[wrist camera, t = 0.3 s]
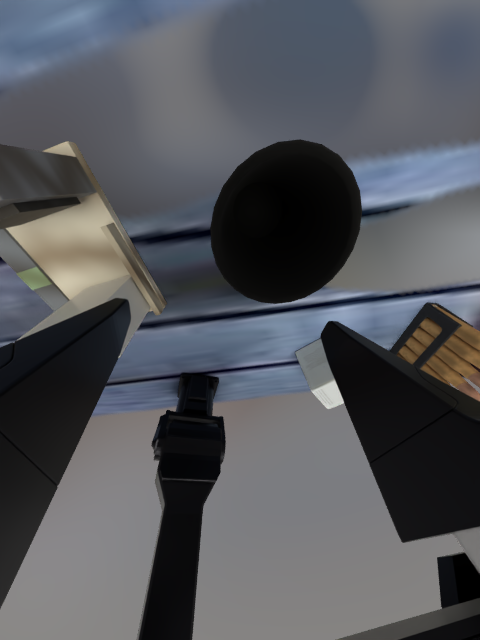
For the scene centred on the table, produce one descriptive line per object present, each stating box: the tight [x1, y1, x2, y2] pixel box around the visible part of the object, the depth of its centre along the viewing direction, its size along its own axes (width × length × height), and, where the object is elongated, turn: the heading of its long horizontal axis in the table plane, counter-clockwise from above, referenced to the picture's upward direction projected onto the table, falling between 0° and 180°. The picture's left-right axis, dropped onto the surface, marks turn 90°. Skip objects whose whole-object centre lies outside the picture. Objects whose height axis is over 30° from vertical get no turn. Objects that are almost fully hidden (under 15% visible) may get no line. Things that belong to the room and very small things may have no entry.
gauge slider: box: [18, 275, 151, 358], centre depth 20 cm, size 4×10×9 cm, turn 106°
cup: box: [210, 140, 362, 304], centre depth 15 cm, size 8×8×12 cm
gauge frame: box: [0, 141, 167, 315], centre depth 17 cm, size 16×12×10 cm
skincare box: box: [295, 338, 344, 409], centre depth 29 cm, size 6×6×7 cm
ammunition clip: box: [390, 303, 480, 401], centre depth 26 cm, size 11×2×12 cm, turn 173°
